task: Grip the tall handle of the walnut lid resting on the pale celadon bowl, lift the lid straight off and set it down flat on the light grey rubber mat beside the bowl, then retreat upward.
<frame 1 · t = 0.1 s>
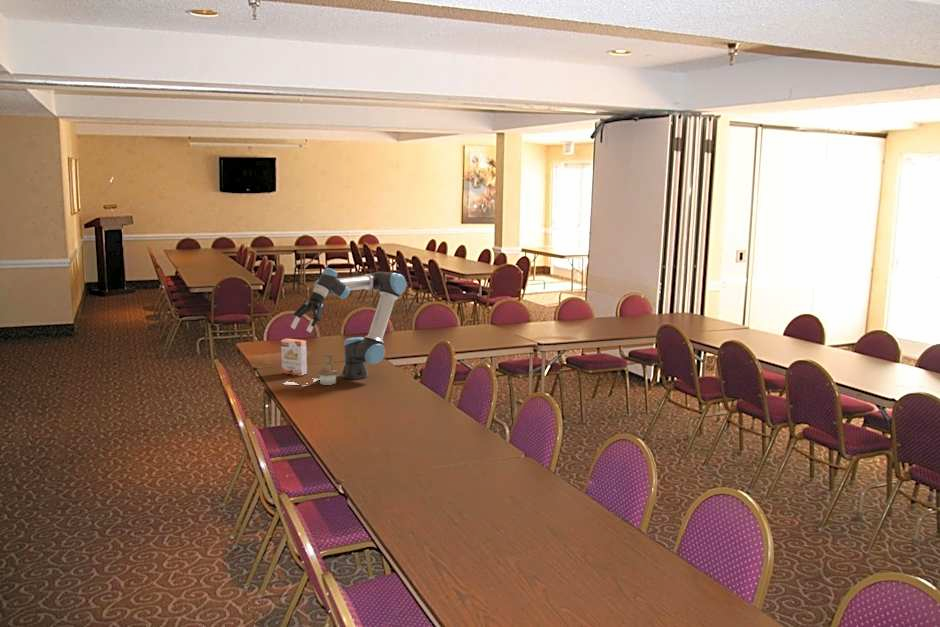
hand: (300, 329, 405), 36 cm above the table, tool tilted 35°, fingers open, 13 cm apart
mat: (301, 382, 440), on the table
cracker box: (294, 374, 458), on the table
bowl: (328, 384, 437), on the table, touching lid
lid: (327, 373, 436), point 6 cm above the table, touching bowl
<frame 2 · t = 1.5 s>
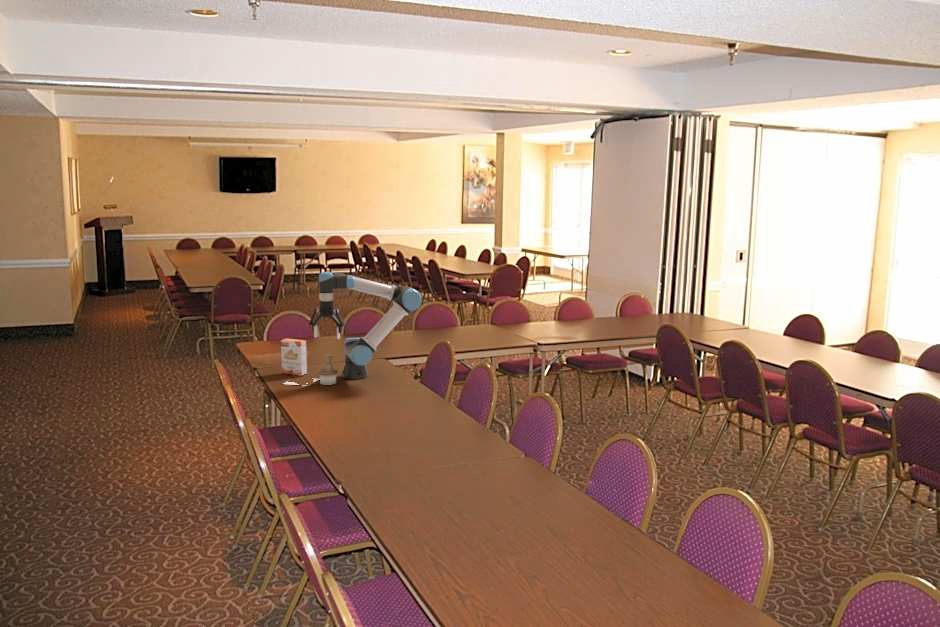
hand: (327, 338, 432), 27 cm above the table, tool pointing down, fingers open, 13 cm apart
nothing on the table moved.
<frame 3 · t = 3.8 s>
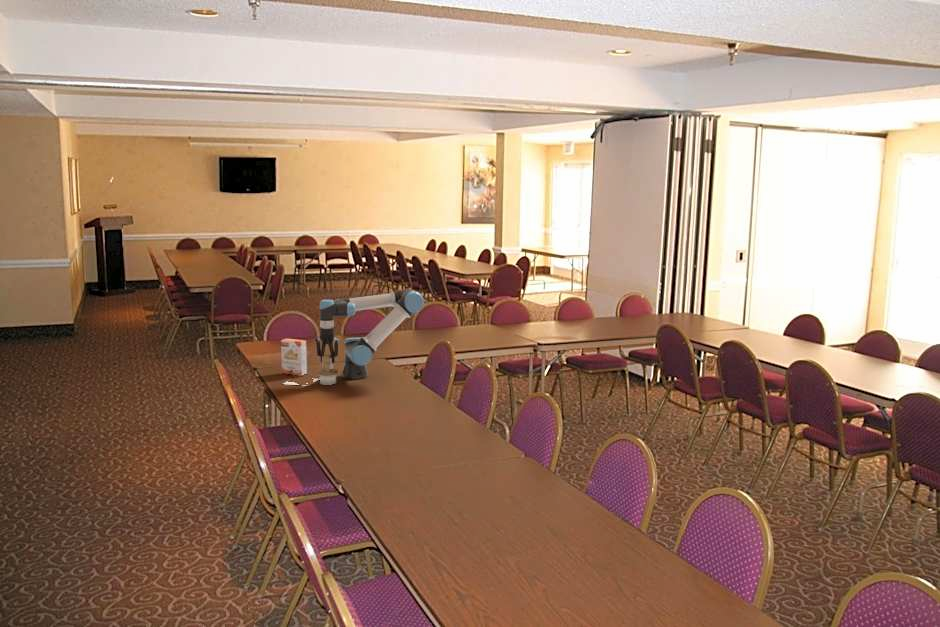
hand: (327, 368, 435), 9 cm above the table, tool pointing down, fingers closed on lid, 4 cm apart
lid: (327, 373, 436), point 6 cm above the table, touching bowl, gripper
everything else where it was.
when the fingers open (4 cm above the table, at t = 9.7 s): lid stays where it is, resting on mat.
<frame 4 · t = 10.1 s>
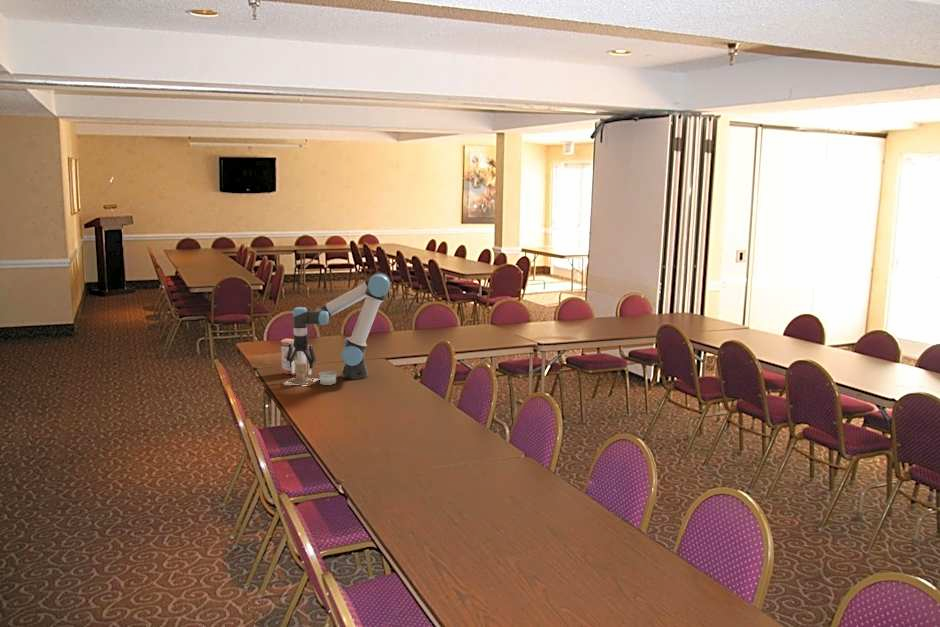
hand: (301, 373, 439), 5 cm above the table, tool pointing down, fingers open, 9 cm apart
bowl: (328, 384, 437), on the table
lid: (301, 381, 440), resting on mat
everything else where it was.
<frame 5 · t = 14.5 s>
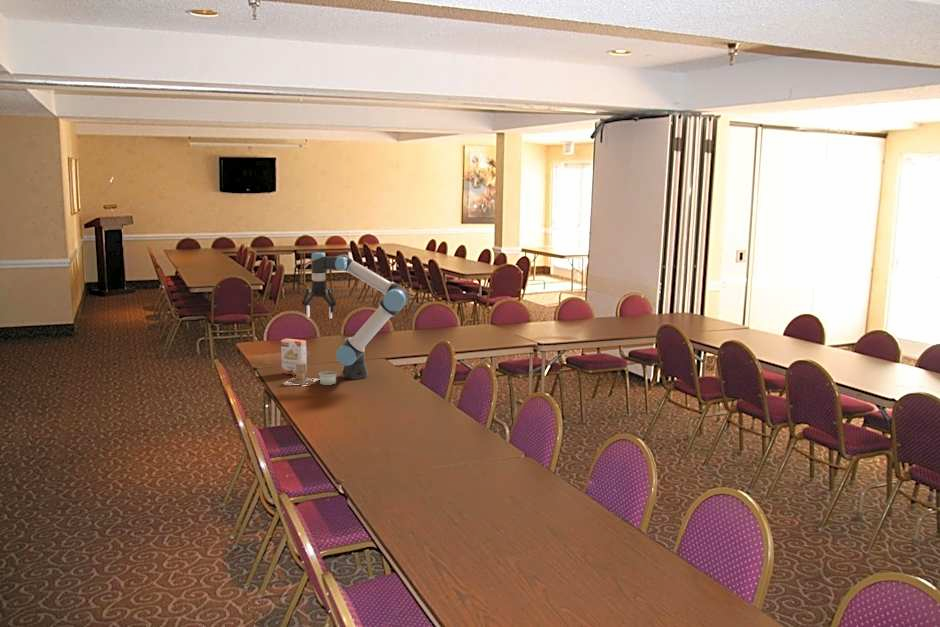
hand: (319, 317, 438), 37 cm above the table, tool pointing down, fingers open, 13 cm apart
nothing on the table moved.
at the end: lid inside the target area on the mat (0.0 cm from its centre), point 0.5 cm above the mat's base; lid tilted 0°; bowl moved 0.1 cm from its start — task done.
